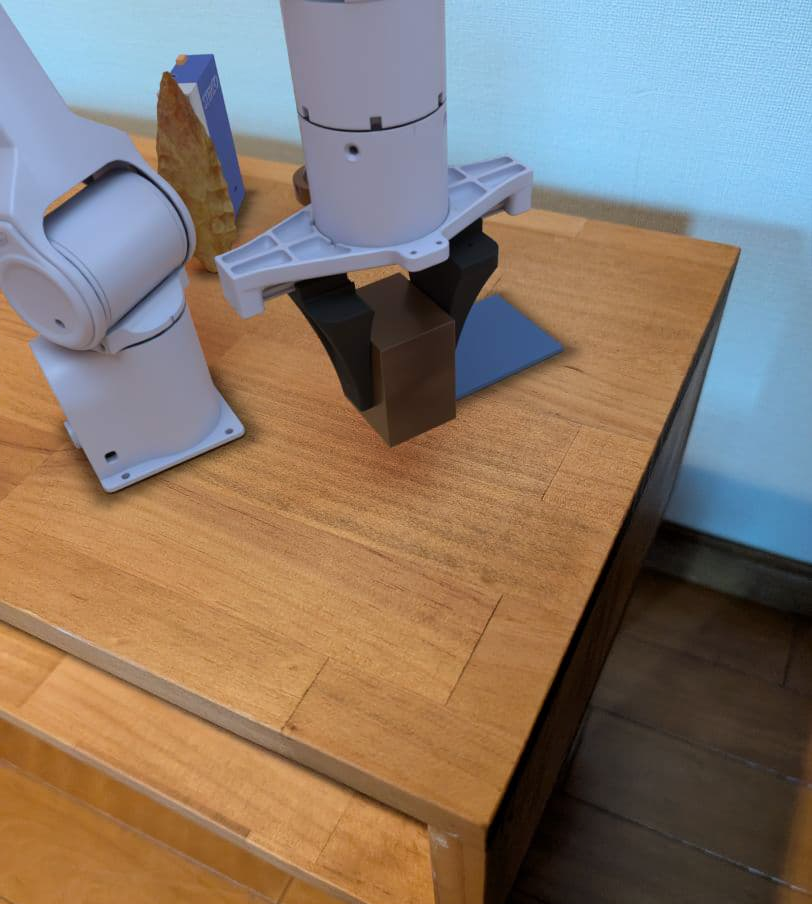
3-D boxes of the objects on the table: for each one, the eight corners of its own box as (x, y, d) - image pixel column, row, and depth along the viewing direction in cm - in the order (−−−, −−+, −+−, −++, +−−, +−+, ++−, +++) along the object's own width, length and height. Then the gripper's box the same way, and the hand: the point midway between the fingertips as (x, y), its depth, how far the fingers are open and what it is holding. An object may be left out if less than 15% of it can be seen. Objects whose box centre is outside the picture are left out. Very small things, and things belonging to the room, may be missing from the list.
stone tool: (192, 287, 62) (129, 85, 51) (182, 274, 64) (118, 74, 52) (250, 266, 64) (201, 64, 52) (238, 253, 65) (189, 54, 54)
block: (390, 449, 39) (380, 351, 35) (343, 395, 42) (328, 298, 37) (456, 418, 40) (455, 320, 36) (407, 368, 43) (399, 271, 38)
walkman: (216, 194, 72) (179, 50, 63) (246, 194, 72) (212, 48, 63) (196, 239, 67) (152, 90, 58) (227, 239, 67) (188, 88, 58)
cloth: (443, 406, 51) (443, 401, 51) (383, 346, 56) (382, 341, 56) (563, 351, 54) (564, 346, 54) (496, 298, 59) (496, 293, 59)
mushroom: (318, 247, 65) (306, 178, 61) (290, 222, 68) (278, 155, 64) (371, 227, 67) (364, 159, 62) (342, 203, 70) (334, 136, 65)
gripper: (236, 199, 25) (304, 488, 36) (590, 81, 29) (557, 370, 40) (162, 125, 29) (243, 404, 40) (483, 30, 33) (479, 305, 44)
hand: (396, 382), depth 40 cm, fingers closed on block, 4 cm apart
